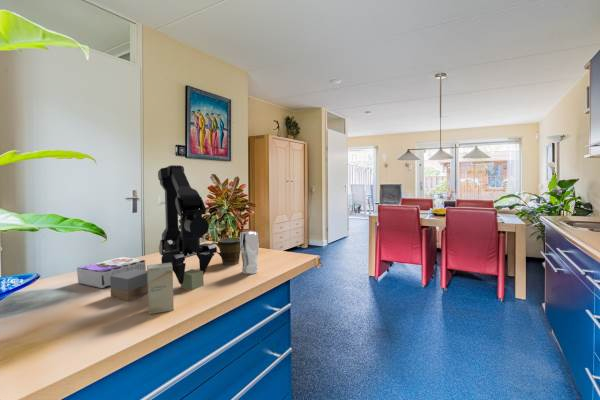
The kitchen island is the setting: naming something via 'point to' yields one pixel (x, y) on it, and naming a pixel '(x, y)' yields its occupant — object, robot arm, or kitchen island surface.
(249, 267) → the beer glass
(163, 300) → the skincare box
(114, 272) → the candy box
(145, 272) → the charcoal block
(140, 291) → the walnut block
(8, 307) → the kitchen island surface
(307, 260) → the kitchen island surface
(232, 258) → the ceramic cup
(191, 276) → the olive cube
